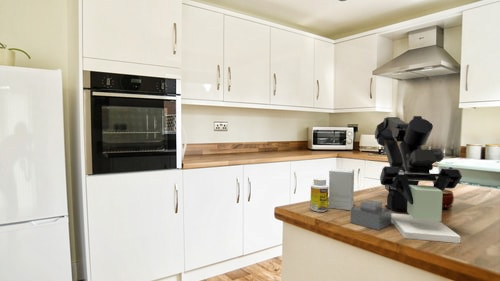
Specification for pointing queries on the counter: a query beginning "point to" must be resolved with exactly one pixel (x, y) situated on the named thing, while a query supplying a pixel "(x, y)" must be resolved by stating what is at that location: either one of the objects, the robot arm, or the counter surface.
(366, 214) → the dark grey block
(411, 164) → the robot arm
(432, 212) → the pale green block
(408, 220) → the cutting board
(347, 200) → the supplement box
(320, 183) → the supplement bottle
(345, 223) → the counter surface
